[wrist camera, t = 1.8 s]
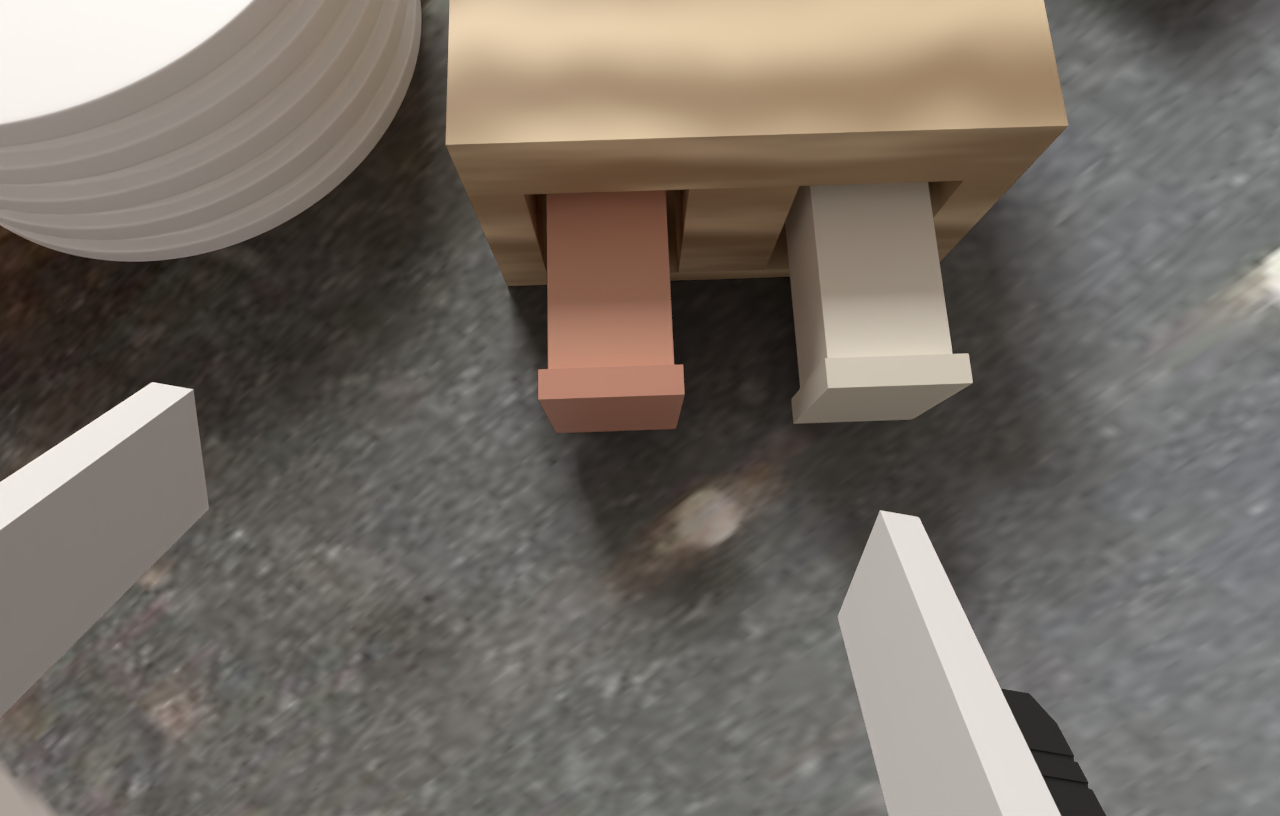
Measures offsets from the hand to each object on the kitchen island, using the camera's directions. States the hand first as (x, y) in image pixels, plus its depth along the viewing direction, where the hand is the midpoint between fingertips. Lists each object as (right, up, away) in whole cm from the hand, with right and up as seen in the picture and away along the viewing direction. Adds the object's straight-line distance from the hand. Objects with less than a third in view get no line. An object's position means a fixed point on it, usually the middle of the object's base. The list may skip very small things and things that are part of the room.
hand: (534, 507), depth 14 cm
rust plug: (+1, +9, +22) cm, 24 cm away
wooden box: (+6, +16, +26) cm, 31 cm away
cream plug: (+12, +10, +22) cm, 27 cm away
